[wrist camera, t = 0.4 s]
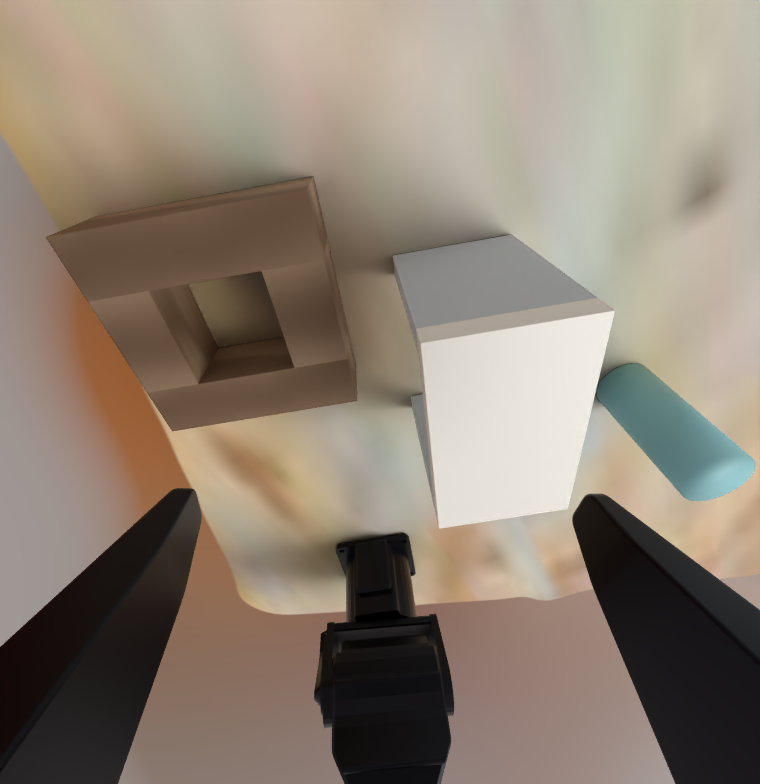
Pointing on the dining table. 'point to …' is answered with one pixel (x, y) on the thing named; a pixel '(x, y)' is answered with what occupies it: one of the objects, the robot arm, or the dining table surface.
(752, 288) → the dining table surface
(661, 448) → the peg
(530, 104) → the dining table surface
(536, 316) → the small white footstool
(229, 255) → the socket
